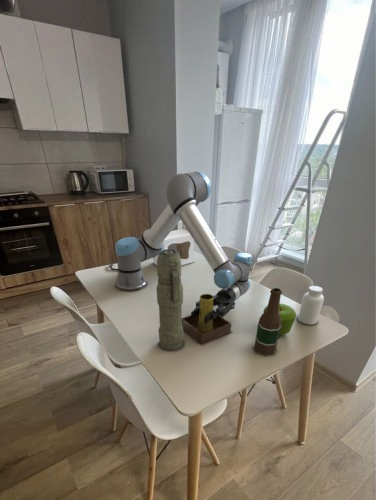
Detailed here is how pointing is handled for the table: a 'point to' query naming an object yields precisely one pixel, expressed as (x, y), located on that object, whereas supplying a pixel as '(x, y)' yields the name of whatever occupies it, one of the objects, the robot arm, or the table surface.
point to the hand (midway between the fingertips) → (198, 317)
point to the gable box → (180, 244)
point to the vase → (205, 312)
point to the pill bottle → (311, 305)
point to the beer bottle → (269, 325)
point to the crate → (219, 330)
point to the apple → (286, 317)
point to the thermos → (170, 299)
